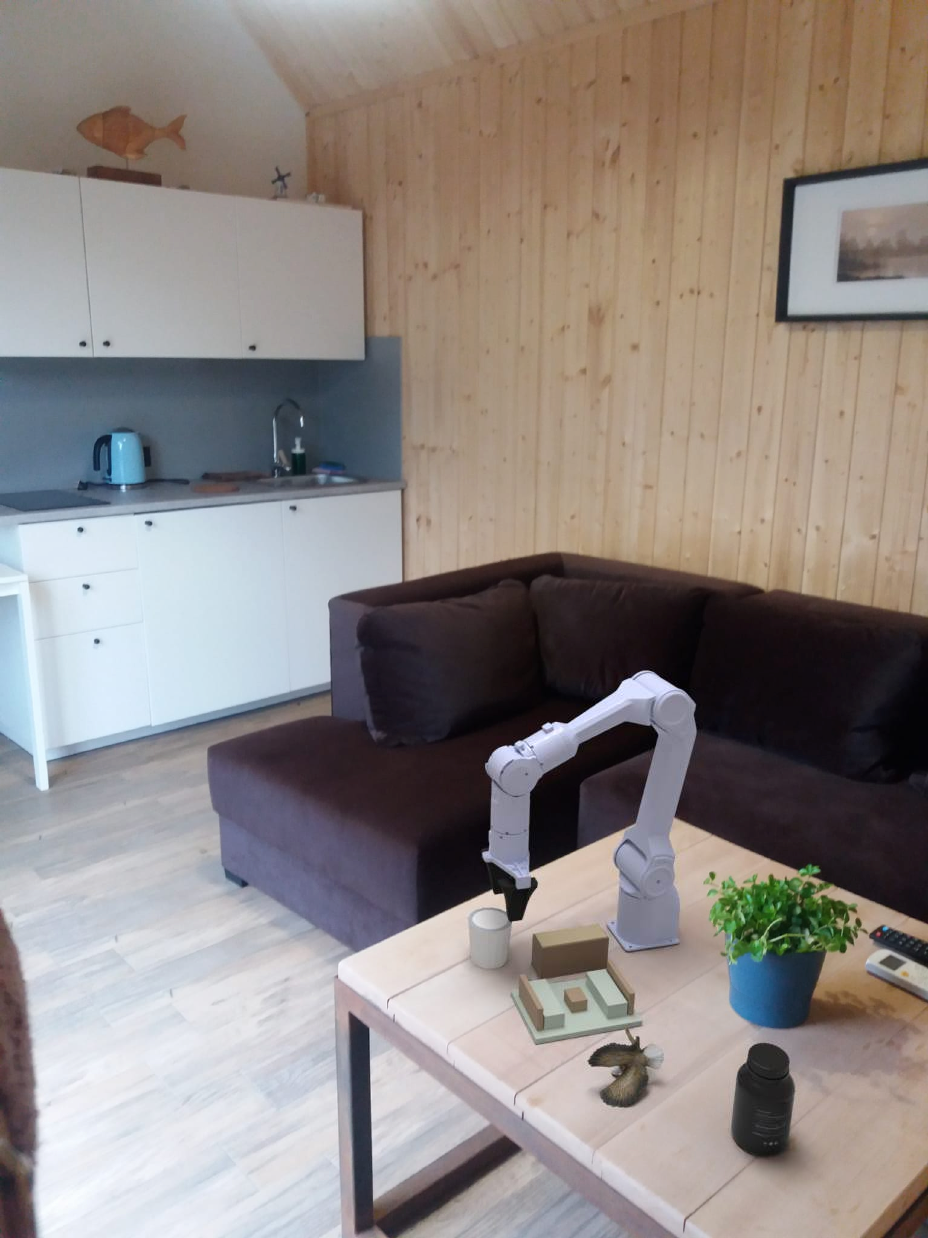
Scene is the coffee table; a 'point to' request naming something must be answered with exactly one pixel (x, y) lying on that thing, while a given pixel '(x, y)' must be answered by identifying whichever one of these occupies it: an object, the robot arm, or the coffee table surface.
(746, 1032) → the coffee table surface
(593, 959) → the tan rectangular box
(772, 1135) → the supplement bottle
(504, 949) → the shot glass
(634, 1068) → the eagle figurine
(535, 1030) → the display cradle
